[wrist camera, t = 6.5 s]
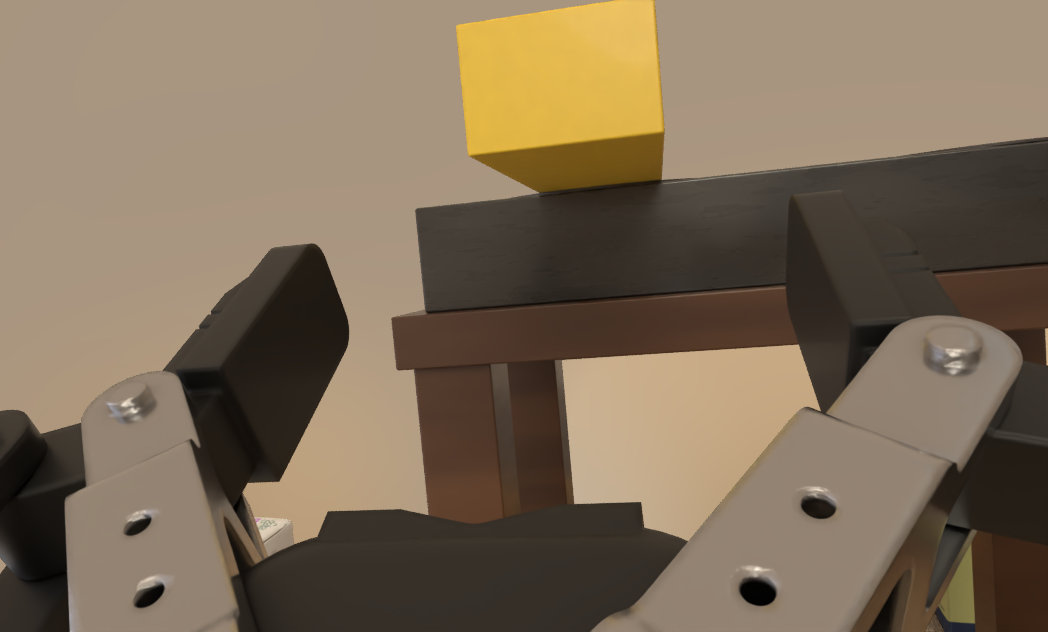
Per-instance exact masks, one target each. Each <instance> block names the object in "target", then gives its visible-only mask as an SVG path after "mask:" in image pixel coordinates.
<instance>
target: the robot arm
mask: <svg viewBox="0 0 1048 632" xmlns="http://www.w3.org/2000/svg"><path fill="white" fill-rule="evenodd" d="M786 297H787V305H788V311H789V316H790V319H791V322H792V325H793V328H794V331H795V334H796V337H797V340H798V343H799V346H800V349H801V352H802V355H803V358H804V361H805V364H806V367H807V370H808V373H809V376H810V379H811V382H812V385H813V388H814V391H815V394H816V397H817V400H818V403H819V407H820V409H821V411H818V410H815V409H813V408H810V407H804V408H802V409H800V410H799V411H798V412H797V413H796V414H795V415H794V416H793V417H792V418H791V419H790V420H789V421H788V423H787V424H786V425H785V426H784V427H783V429H782V430H781V431H780V432H779V433H778V435H777V436H776V437H775V438H774V439H773V441H772V442H771V443H770V444H769V445H768V447H767V448H766V449H765V450H764V452H763V453H762V454H761V455H760V456H759V457H758V459H757V460H756V461H755V462H754V463H753V465H752V466H751V467H750V468H749V469H748V471H747V472H746V473H745V474H744V475H743V477H742V478H741V479H740V480H739V482H738V483H737V484H736V485H735V486H734V487H733V488H732V490H731V491H730V492H729V493H728V495H727V496H726V497H725V498H724V499H723V500H722V502H721V503H720V504H719V505H718V506H717V508H716V509H715V510H714V511H713V512H712V514H711V515H710V516H709V517H708V518H707V520H706V521H705V522H704V523H703V525H702V526H701V527H700V528H699V529H698V530H697V532H696V533H695V534H694V535H693V536H692V538H691V539H690V540H689V541H686V540H684V539H682V538H679V537H676V536H673V535H670V534H667V533H664V532H661V531H656V530H651V529H647V528H644V524H643V523H644V522H643V514H642V506H641V502H631V503H599V504H564V505H556V506H551V507H547V508H543V509H539V510H535V511H530V512H526V513H522V514H518V515H514V516H509V517H505V518H501V519H497V520H492V521H488V522H484V523H478V524H470V523H464V522H459V521H454V520H449V519H444V518H439V517H435V516H430V515H425V514H420V513H415V512H410V511H406V510H401V509H398V510H397V509H396V510H362V511H331V512H328V513H327V515H326V517H325V520H324V522H323V525H322V527H321V530H320V532H319V534H318V537H315V538H311V539H308V540H305V541H303V542H300V543H297V544H294V545H291V546H289V547H287V548H285V549H282V550H280V551H278V552H276V553H274V554H272V555H270V556H269V557H268V554H267V551H266V549H265V546H264V543H263V540H262V538H261V535H260V532H259V529H258V527H257V524H256V521H255V518H254V516H253V513H252V510H251V507H250V505H249V504H248V502H247V500H246V498H245V496H244V494H243V493H242V492H243V490H244V488H245V486H246V485H247V483H255V482H279V481H280V479H281V477H282V475H283V473H284V471H285V470H286V468H287V466H288V463H289V462H290V460H291V458H292V456H293V453H294V452H295V450H296V448H297V446H298V444H299V442H300V440H301V438H302V436H303V434H304V432H305V430H306V428H307V426H308V424H309V422H310V420H311V418H312V416H313V414H314V412H315V410H316V408H317V406H318V404H319V402H320V400H321V398H322V396H323V394H324V392H325V390H326V388H327V387H328V384H329V383H330V381H331V379H332V377H333V375H334V373H335V371H336V369H337V367H338V365H339V363H340V361H341V359H342V357H343V355H344V353H345V351H346V349H347V346H348V341H349V325H348V319H347V316H346V313H345V310H344V307H343V304H342V302H341V299H340V296H339V294H338V291H337V288H336V286H335V283H334V280H333V277H332V275H331V272H330V269H329V267H328V264H327V261H326V259H325V256H324V254H323V252H322V250H321V249H320V248H319V247H318V246H317V245H316V244H303V245H293V246H283V247H275V248H272V249H271V250H270V251H269V252H268V253H267V254H266V255H265V257H264V258H263V259H262V261H261V262H260V263H259V264H258V266H257V267H256V268H255V269H254V271H253V272H252V273H251V274H250V276H249V277H248V278H246V279H245V280H243V281H242V282H241V283H239V284H238V285H236V286H235V287H234V288H233V289H231V290H229V291H228V292H227V293H225V295H224V296H223V297H222V298H221V300H220V301H219V302H218V303H217V304H216V306H215V307H214V308H213V309H212V311H211V315H207V317H206V318H205V319H204V320H203V322H202V323H201V324H200V325H199V328H200V329H197V330H195V332H194V333H193V334H192V335H191V336H190V338H189V339H188V340H187V341H186V343H185V344H184V345H183V346H182V347H181V349H180V350H179V351H178V352H177V354H176V355H175V356H174V357H173V358H172V360H171V361H170V362H169V363H168V365H167V366H166V367H165V368H164V370H163V371H154V372H147V373H143V374H139V375H136V376H133V377H131V378H128V379H126V380H124V381H122V382H119V383H117V384H116V385H114V386H112V387H110V388H109V389H107V390H106V391H104V392H103V393H102V394H100V395H99V396H98V397H97V398H96V399H95V400H94V401H93V402H91V404H90V405H89V406H88V407H87V408H86V410H85V412H84V413H83V416H82V419H81V423H79V424H75V425H72V426H68V427H65V428H61V429H58V430H54V431H50V432H47V433H43V434H40V432H39V431H38V430H37V428H36V427H35V425H34V424H33V423H32V421H31V420H30V418H29V417H28V416H27V415H26V414H25V413H24V412H22V411H18V410H6V411H0V558H1V559H2V560H3V562H4V563H5V564H6V565H7V566H6V567H5V569H4V570H3V571H2V572H1V574H0V632H925V630H926V628H927V626H928V625H929V623H930V621H931V619H932V617H933V615H934V613H935V611H936V609H937V607H938V605H939V603H940V602H941V600H942V598H943V596H944V594H945V592H946V590H947V588H948V586H949V584H950V582H951V580H952V579H953V577H954V575H955V573H956V571H957V569H958V567H959V565H960V563H961V561H962V559H963V557H964V556H965V554H966V552H967V550H968V548H969V546H970V544H971V542H972V540H973V538H974V536H975V534H976V533H977V531H982V532H987V533H991V534H996V535H1000V536H1005V537H1009V538H1014V539H1018V540H1023V541H1028V542H1032V543H1037V544H1041V545H1046V546H1048V366H1047V365H1041V364H1036V363H1032V362H1028V361H1024V360H1023V356H1022V353H1021V350H1020V349H1019V347H1018V346H1017V344H1016V343H1015V342H1014V341H1013V340H1012V339H1011V338H1010V337H1009V336H1007V335H1006V334H1005V333H1003V332H1002V331H1000V330H998V329H996V328H994V327H992V326H990V325H987V324H985V323H982V322H979V321H975V320H972V319H967V318H963V317H962V315H961V314H960V312H959V311H958V309H957V308H956V306H955V305H954V303H953V302H952V300H951V299H950V297H949V296H948V294H947V293H946V291H945V290H944V288H943V287H942V285H941V284H940V282H939V281H938V279H937V278H936V276H935V275H934V273H933V272H932V270H931V271H929V266H928V264H927V263H926V261H925V260H924V258H923V257H922V255H919V254H918V250H917V248H916V247H915V245H914V244H913V242H912V241H911V239H910V238H909V236H908V235H907V233H906V232H905V231H903V230H901V229H900V228H898V227H896V226H894V225H893V224H891V223H889V222H888V221H886V220H884V219H882V218H881V217H877V218H867V219H859V217H858V216H857V214H856V212H855V211H854V209H853V207H852V205H851V204H850V202H849V200H848V198H847V197H846V195H845V193H844V192H843V191H842V190H835V191H825V192H816V193H806V194H796V195H792V196H791V197H790V201H789V208H788V232H787V260H786Z"/></svg>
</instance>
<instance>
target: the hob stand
mask: <svg viewBox="0 0 1048 632" xmlns="http://www.w3.org/2000/svg"><path fill="white" fill-rule="evenodd" d="M835 190H842V191H843V192H844V193H845V195H846V197H847V198H848V200H849V202H850V204H851V205H852V207H853V209H854V211H855V212H856V214H857V216H858V217H859V219H867V218H877V217H881V218H882V219H884V220H886V221H888V222H889V223H891V224H893V225H894V226H896V227H898V228H900V229H901V230H903V231H905V232H906V233H907V235H908V236H909V238H910V239H911V241H912V242H913V244H914V245H915V247H916V248H917V250H918V254H919V255H922V257H923V258H924V260H925V261H926V263H927V264H928V266H929V271H931V270H932V272H933V273H934V275H935V276H936V278H937V279H938V281H939V282H940V284H941V285H942V287H943V288H944V290H945V291H946V293H947V294H948V296H949V297H950V299H951V300H952V302H953V303H954V305H955V306H956V308H957V309H958V311H959V312H960V314H961V315H962V317H963V318H967V319H972V320H975V321H979V322H982V323H985V324H987V325H990V326H992V327H994V328H996V329H998V330H1000V331H1002V332H1003V333H1005V334H1006V335H1007V336H1009V337H1010V338H1011V339H1012V340H1013V341H1014V342H1015V343H1016V344H1017V346H1018V347H1019V349H1020V350H1021V353H1022V356H1023V360H1024V361H1028V362H1032V363H1036V364H1041V365H1046V341H1045V328H1048V137H1044V138H1034V139H1024V140H1016V141H1008V142H998V143H990V144H982V145H975V146H967V147H959V148H952V149H944V150H937V151H931V152H924V153H918V154H910V155H904V156H897V157H888V158H880V159H870V160H861V161H851V162H842V163H834V164H823V165H815V166H806V167H796V168H787V169H778V170H768V171H759V172H750V173H740V174H731V175H722V176H713V177H703V178H686V179H671V180H670V179H669V180H656V181H643V182H632V183H621V184H611V185H601V186H592V187H584V188H575V189H567V190H560V191H552V192H545V193H539V194H532V195H526V196H519V197H514V198H508V199H500V200H490V201H481V202H472V203H462V204H453V205H444V206H435V207H425V208H417V209H416V211H415V212H416V222H417V233H418V243H419V253H420V263H421V273H422V283H423V293H424V304H425V310H422V311H418V312H413V313H409V314H405V315H401V316H397V317H393V318H392V319H391V320H392V329H393V339H394V349H395V359H396V368H397V370H412V369H414V373H415V384H416V394H417V403H418V413H419V423H420V433H421V443H422V453H423V463H424V473H425V483H426V493H427V503H428V513H429V515H430V516H435V517H439V518H444V519H449V520H454V521H459V522H464V523H470V524H478V523H484V522H488V521H492V520H497V519H501V518H505V517H509V516H514V515H518V514H522V513H526V512H530V511H535V510H539V509H543V508H547V507H551V506H556V505H564V504H574V496H573V486H572V473H571V462H570V451H569V440H568V427H567V416H566V405H565V393H564V382H563V370H562V360H565V359H582V358H597V357H612V356H627V355H643V354H657V353H658V354H659V353H674V352H690V351H704V350H720V349H736V348H750V347H767V346H782V345H797V344H799V343H798V340H797V337H796V334H795V331H794V328H793V325H792V322H791V319H790V316H789V311H788V305H787V297H786V260H787V232H788V208H789V201H790V197H791V196H792V195H796V194H806V193H816V192H825V191H835ZM971 551H972V572H973V592H974V612H975V632H1048V546H1046V545H1041V544H1037V543H1032V542H1028V541H1023V540H1018V539H1014V538H1009V537H1005V536H1000V535H996V534H991V533H987V532H982V531H977V533H976V534H975V536H974V538H973V540H972V542H971Z"/></svg>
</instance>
